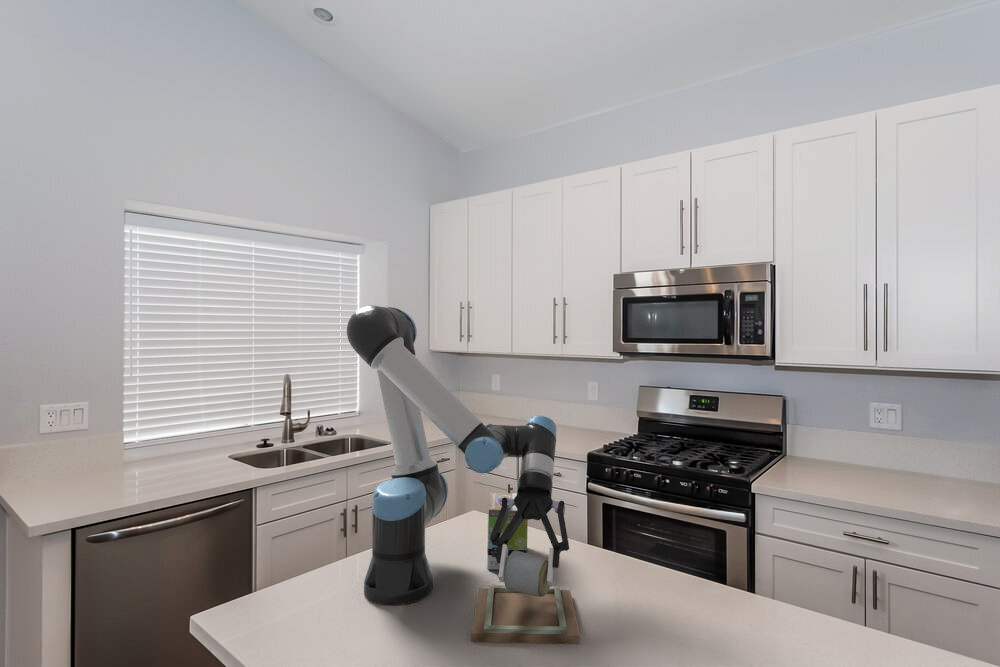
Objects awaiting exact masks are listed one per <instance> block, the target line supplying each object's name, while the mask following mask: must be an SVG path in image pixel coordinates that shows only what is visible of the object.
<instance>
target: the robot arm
mask: <svg viewBox="0 0 1000 667" xmlns="http://www.w3.org/2000/svg"><path fill="white" fill-rule="evenodd" d="M417 332H418V331H417V327H416V323H415V321H414V320H413V318H412V317H411V315H410V314H408V313H407V312H405V311H404V310H402V309H399V308H397V307H394V306H393V307H391V306H388V307H385V306H380V305H366V306H363V307H361V308H359V309H357V310H355V312H353V314H352V315H351V316H350V318H349V320H348V322H347V325H346V335H347V336H346V337H347V340H348V343H349V344H350V346H351V348H352V350H354V351H355V352H356V354H357V355H358V356H359V357H360V358H361V360H363V361H364V362H365V363H366V364H367V365H368V366H369V367H370V368H371V369H372V370H376V371H377V376H378V382H379V388H380V392H381V397H382V401H383V408H384V411H385V417H386V418H385V419H386V423H387V427H388V428H387V429H388V433H389V438H390V443H391V446H392V452H393V457H394V463H395V466H394V467H393V468H392V470H391V471H390V475H391V476H390V477H391V480H390V479H389V480H385V481H383V482H381V483H379V484H378V485H377V486H376V487H375V489H374V490H373V494H372V502H371V517H372V518H371V520H372V521H371V522H372V523H371V532H372V533H371V535H372V536H371V537H372V538H371V539H372V540H371V541H372V542H371V544H372V547H371V549H372V550H371V554H372V556H371V559H370V563H369V566H368V569H367V572H366V576H365V578H364V580H363V581H364V583H363V594H364V597H366V599H367V600H369V601H370V602H372V603H374V604H377V605H378V604H379V605H384V606H385V605H386V606H400V605H401V606H402V605H407V604H411V603H415V602H418V601H420V600H423V599H424V598H425V597H427V596H428V595H430V593H431V592H432V591H433V588H434V587H433V586H434V577H433V573H432V570H431V567H430V564H429V560H428V557H427V554H426V526H427V525H428V524H429V523H430V522H431V521H432V519H434V518H436V517H437V515H439V514H440V512H441V511H442V510H443V509H444V507H445V505H446V503H447V500H448V497H449V486H448V485H449V484H448V482H447V480H446V478H445V476H444V475H443V474H442V473H440V471H439V470H440V469H439V466H438V462H437V461H436V459H434V458H433V457H431V456H430V452H429V446H428V442H427V437H426V432H425V427H424V421H423V417H422V413H423V414H424V415H425V416H426V417H427V418H428V419H429V420H430V421H431V422H432V423H433V425H435V426H436V427H437V428H438V429H439V430H440V431H441V432H442V433H443V434H444V435H445V436H446V437H447V438H448V439H449V440H450V441H451V442H452V443H453V444H454V445H455V446H456V447H457V448H458V449H459V450H460V451H461V452H462V453H463V454H464V460H465V463H466V465H467V467H469V468H470V470H471V471H473V472H475V473H477V474H487V473H491V472H492V471H493V470H495V469H496V468H498V467H499V466H500V465H501V464H502V461H503V460H504V459H506V458H521V460H520V470H519V479H518V486H517V492H516V493H517V496H516V497H515V499H507V498H506V497H504V498H502V508H501V510H500V513H499V515H498V518H497V520H496V523H495V525H494V528H493V531H492V533H491V536H490V540H491V542H492V545H496V546H498V547H497V554H496V560H497V563H500V568H499V570H498V575H497V576H498V579H499V582H500V583H504V572H505V566H506V563H507V557H508V548H507V544H508V542H509V541H510V539H511V538H512V536H513V535H514V533H515V532H516V530H517V528H518V527H519V525H520V524H521V523H522V522H523V521H524V519H526V520H535V521H540V520H541V523H542V525H543V527H544V529H545V532H546V534H547V537H548V539H549V541H550V542H549V543H550V544H551V546H552V547H549V552H548V553H549V554H548V561H549V562H548V575H547V583H548V586H551V587H552V586H553V582H554V581H553V578H554V569H558V568H559V566H560V558H561V555H560V554H561V552H564V551H565V552H568V551H569V550H570V545H569V544H570V543H569V537H568V531H567V526H566V521H565V513H566V512H565V511H566V506H565V505H566V504H565V501H564V500H560V501H554V499H552V496H553V495H552V494H553V493H552V492H553V479H554V471H555V470H554V469H555V457H556V456H555V455H556V446H557V425H556V423H555V422H554V420H553V419H552V418H550V417H548V416H545V415H535V416H531V417H529V418H528V419H527V421H526V423H525V425H522V424H521V425H511V424H509V425H505V424H492V423H488V424H484V423H483V422H482V421H481V420H480V419H479V418H478V417H477V416H476V415H475V414H474V413H473V412H472V411H471V410H470V409H469V408H468V407H467V406H466V405H465V404H464V403H463V402H462V401H461V400H460V399H459V398H458V397H457V396H456V395H455V394H454V393H453V392H452V391H450V389H448V387H446V385H444V383H442V382H441V381H440V379H438V378H437V376H435V374H433V373H432V372H431V371H430V370H429V368H427V367H426V365H424V364H423V363H422V362H421V361H420V360H419V359H418V358H417V357H416V351H415V345H414V344H415V342H416V339H417ZM514 505H515V506H516V508H517V509H518V510H517V511H516V513H515V516H514V517H513V519H512V520H511V522H510V523H509V525H508V526H507V528H506V529H505V531H504V532H503V534H502V535H501V532H502V529H503V527H504V524H505V522H506V519H507V516H508V512H509V510H511V509H512V506H514ZM551 509H554V512H555V513H556V514H557V518H558V519H557V520H558V525H559V529H560V530H559V531H560V537H561V541H560V542H559V541H558V538H557V536H556V533H555V531H554V529H553V527H552V524H551V521H550V520H549V517H548V513H549V512H550V511H551ZM500 535H501V537H500ZM499 537H500V538H499Z"/></svg>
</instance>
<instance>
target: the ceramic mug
mask: <svg viewBox="0 0 1000 667" xmlns="http://www.w3.org/2000/svg"><path fill="white" fill-rule="evenodd" d="M548 562H549V559H546V558H544V557H542V556H537V555H533V554H530V553H528V552H527V553H524V552H520V551H517V550H515V551H513V552H512V553H511V554H510V556H509V557H508V560H507V563H506V566H505V572H504V582H503V583H504V586H505V587H506V589H507V590H510V591H514V592H518V593H523V594H528V595H532V596H537V597H542V596H545V595H546V594H547V592H548V590H549V588H550V586H548V583H547V575H548Z"/></svg>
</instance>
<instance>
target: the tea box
mask: <svg viewBox="0 0 1000 667" xmlns="http://www.w3.org/2000/svg"><path fill="white" fill-rule="evenodd" d="M516 496H517V492H516V493H513V492H512V493H511V492H510V493H508V492H490V493H489V504H488V512H487V513H488V514H487V549H486V550H487V551H486V552H487V556H486V558H487V559H486V560H487V562H486V563H487V564H486V566H487V567H486V569H487V570H493V571H494V570H496V571H497V570H498V571H499V568H500V563H497V560H496V554H497V547H498V546H496V545H492V542H491V540H490V536H491V533H492V531H493V528H494V525H495V523H496V520H497V518H498V515H499V513H500V510H501V508H502V498H504V497H506V498H507V499H515V497H516ZM517 510H518V509H517V508H516V506H515V505H514V506H512V509H511V510H509V512H508V516H507V519H506V522H505V524H504V527H503V529H502V532H501V535H502V534H503V532H504V531H505V529H506V528H507V526H508V525H509V523H510V522H511V520H512V519H513V517H514V516H515V513H516V511H517ZM528 530H529V529H528V520H526V519H524V521H523V522H522V523H521V524H520V525H519V527H518V528H517V530H516V532H515V533H514V535H513V536H512V538H511V539H510V541H509V542H508V544H507V548H508V557H509V556H510V554H511V553H512V552H513V551H515V550H517V551H520V552H524V553H527V554H528V533H529V532H528ZM501 535H500V537H501ZM500 537H499V538H500ZM508 557H507V560H508Z"/></svg>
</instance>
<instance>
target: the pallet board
mask: <svg viewBox="0 0 1000 667" xmlns="http://www.w3.org/2000/svg"><path fill="white" fill-rule="evenodd" d="M471 628H472V629H471V639H470V640H471V642H472V643H476V642H477V643H481V642H482V643H483V642H484V643H521V644H522V643H523V644H524V643H525V644H526V643H528V644H563V645H564V644H571V645H573V644H574V645H580V640H581V639H580V638H581V637H580V631H579V627H578V622H577V616H576V611H575V608H574V603H573V598H572V593H571V589H561V587H560V586H558V585H557V586H556V585H555V586H554V585H552V587H551V586H550V588H549V590H548V592H547V594H546V595H545V596H542V597H537V596H532V595H528V594H523V593H518V592H514V591H510V590H507V589H506V587H505V585H502V584H501V585H500V584H499V585H497V584H490V585H488V587H479V588H478V589H477V596H476V602H475V608H474V615H473V621H472V627H471Z"/></svg>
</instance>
